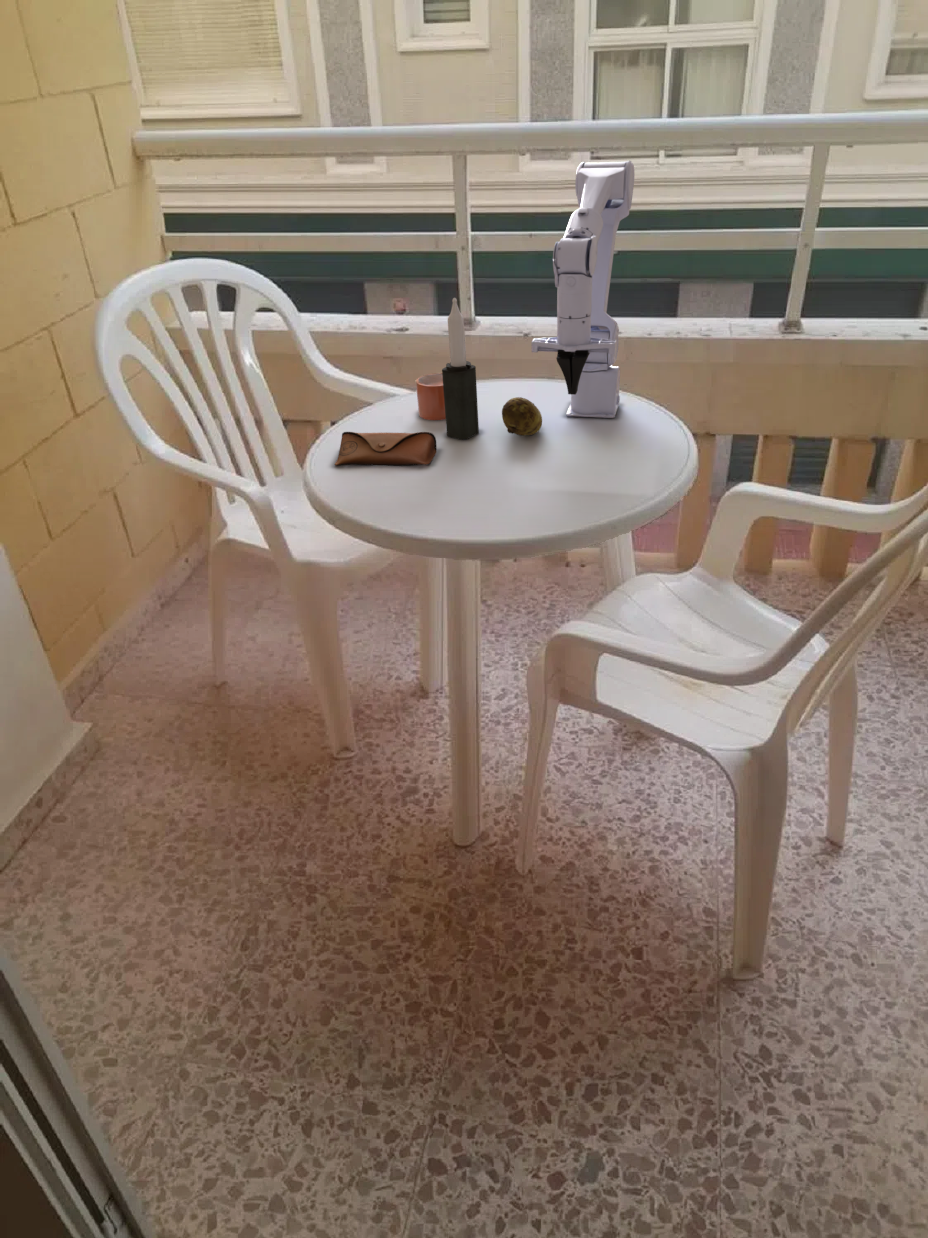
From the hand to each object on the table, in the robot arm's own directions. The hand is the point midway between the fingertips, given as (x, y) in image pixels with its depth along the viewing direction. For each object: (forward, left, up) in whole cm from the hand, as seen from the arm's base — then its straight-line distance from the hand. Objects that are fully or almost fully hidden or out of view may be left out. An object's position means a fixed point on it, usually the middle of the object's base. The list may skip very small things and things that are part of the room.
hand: (572, 392), depth 147 cm
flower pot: (+29, -10, -9) cm, 32 cm away
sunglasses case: (+32, +13, -9) cm, 36 cm away
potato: (+9, -1, -9) cm, 13 cm away
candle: (+21, 0, -9) cm, 23 cm away
